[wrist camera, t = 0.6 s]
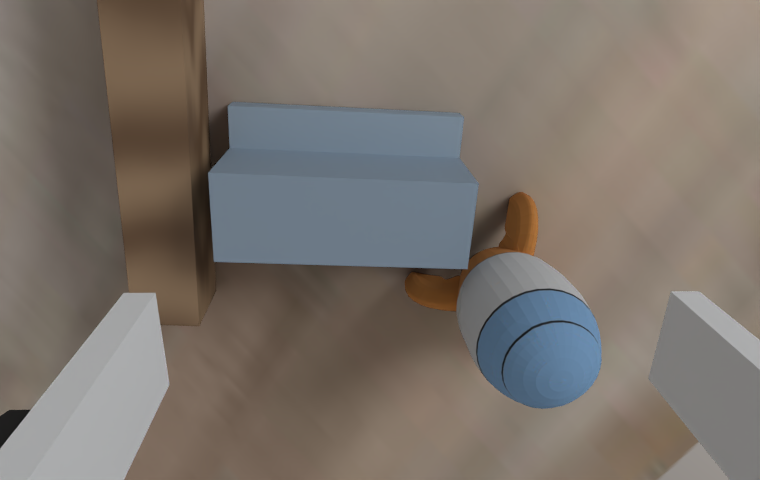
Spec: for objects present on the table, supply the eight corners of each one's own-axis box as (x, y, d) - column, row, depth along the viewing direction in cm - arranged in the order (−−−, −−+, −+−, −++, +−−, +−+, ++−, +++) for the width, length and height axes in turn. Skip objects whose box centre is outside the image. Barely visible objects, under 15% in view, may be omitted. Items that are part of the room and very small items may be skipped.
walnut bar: (123, -116, 29) (81, -140, 25) (200, -108, 30) (172, -131, 25) (158, 286, 38) (132, 323, 34) (216, 288, 39) (199, 326, 34)
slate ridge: (232, 101, 33) (204, 123, 27) (459, 112, 34) (484, 136, 28) (239, 251, 37) (216, 302, 31) (443, 258, 38) (462, 308, 32)
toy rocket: (392, 298, 40) (405, 378, 26) (451, 164, 39) (500, 165, 24) (519, 350, 41) (602, 457, 26) (580, 220, 40) (706, 254, 25)
